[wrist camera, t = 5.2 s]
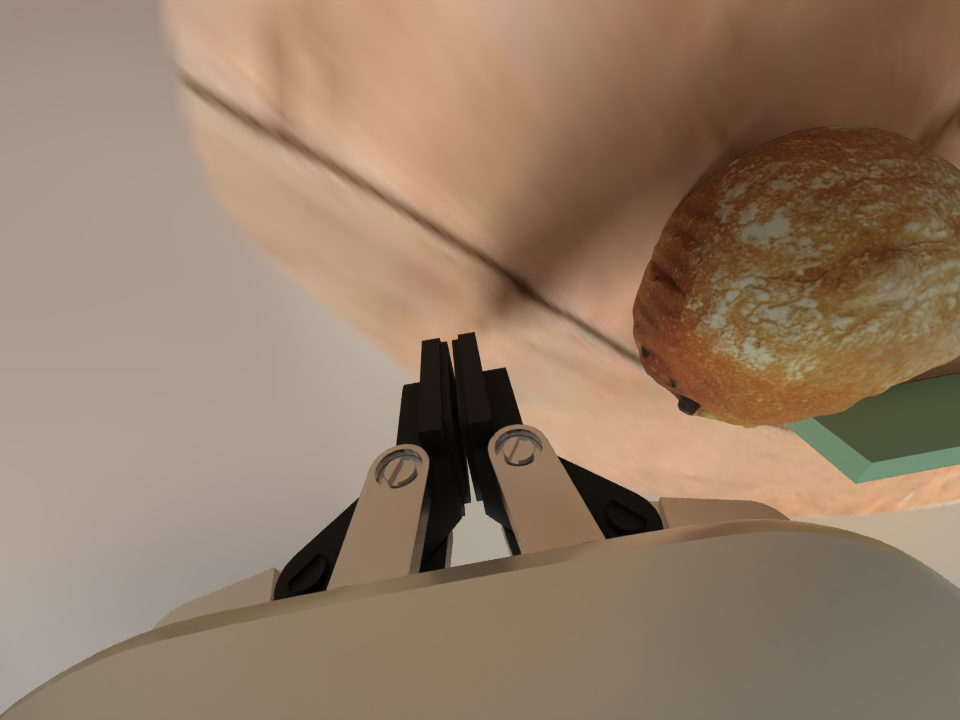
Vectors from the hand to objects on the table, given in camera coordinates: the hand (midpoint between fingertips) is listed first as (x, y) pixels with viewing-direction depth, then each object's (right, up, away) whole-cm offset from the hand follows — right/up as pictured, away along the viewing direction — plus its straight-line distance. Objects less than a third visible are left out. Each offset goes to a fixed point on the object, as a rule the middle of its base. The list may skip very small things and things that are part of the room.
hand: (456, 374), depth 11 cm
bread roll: (+11, +4, +3) cm, 12 cm away
